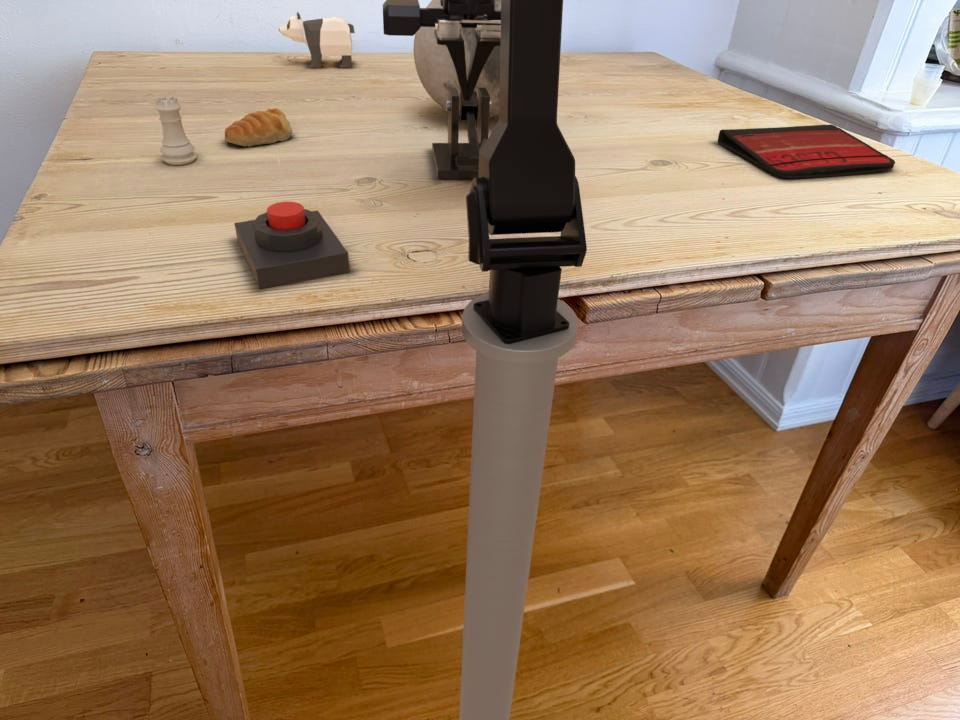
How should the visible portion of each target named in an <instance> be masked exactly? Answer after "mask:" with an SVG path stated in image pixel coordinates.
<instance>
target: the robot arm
mask: <svg viewBox="0 0 960 720" xmlns="http://www.w3.org/2000/svg"><path fill="white" fill-rule="evenodd" d="M440 5H441V6H443V8H426V7H421V5H420V2H419V0H385V1H384V2H383V4H382V21H383V22H382V24H383V26H382V28H383V29H382V30H383V35H386V36H398V37H399V36H400V37H401V36H403V37H404V36H405V37H414V36H415V33H416V32H417V31H418V30H419V29H420V27H434V29H435V30H434V36H435V39H436V42H437V44H439V45H446V46H447V48H448V51H449V53H450V56H451V58H452V61H453V64H454V67H455V71H456V75H457V79H458V82H459V86H460V90H461V94H462V98H463V100H464V101H466V100H467V101H470V100H471V97H472V95H473V92H474V89H475V87H476V84H477V82H478V79H479V77H480V74H481V72H482V69H483V67H484V65H485V63H486V62H487V60H488V58H489V56H490V54H491V52H492V51H493V49H494V47H495V46H500V97H499V115H498V121H497V122H496V124H495V126H494V128H493V129H492V131H491V133H490V134H489V135H488V138H485V139H484V140H483V142H482V144H481V147H480V149H479V171H478V177H476V178H473V179H472V182H471V187H470V189H469V192H468V193H467V194H466V196H465V206H466V208H465V209H466V221H467V235H468V237H467V238H468V250H467V251H468V254H467V255H468V256H467V258H468V261H469V262H470V263H473V264H476V265H479V268H480V271H481V272H482V273H484V272H489V281H488V292H489V300H485V301H481V302H476V303H474V306H473V309H474V311H475V312H476V313H477V314H478V315H479V316H480V317H481V319H482V320H483V321H484V322H485V323H486V324H487V325H488V326H489V327H490V329H491V330H492V331H493V332H494V333H495V334H496V335H497V336H498V337H499V339H500V340H501V341H502V342H503V343H505V344H512V343H516V342H520V341H524V340H528V339H532V338H536V337H540V336H544V335H548V334H551V333H555V332H559V331H563V330H567V329H568V328H569V322H568V321H567V320H566V319H565V318H564V317H563V316H562V315H561V314H560V313H559V312H558V311H557V302H558V299H559V294H560V287H561V286H560V285H561V278H562V268H564V267H574V268H581V267H582V266H583V263H584V260H585V257H586V255H587V251H588V247H587V238H586V231H585V222H584V215H583V214H584V213H583V206H582V199H581V191H580V185H579V181H578V178H577V176H576V159H575V156H574V154H573V152H572V150H571V148H570V147H569V144H568V143H567V141H566V138H565V137H564V135H563V132H562V131H561V130H560V129H561V128H560V127H559V125H558V106H559V90H560V89H559V85H560V69H561V68H560V67H561V50H562V49H561V48H562V33H563V32H562V31H563V30H562V29H563V28H562V27H563V12H564V0H501V10H495V0H440ZM462 28H475V29H476V30H472V38H471V52H470V60H469V67H468V75H467V74H466V60H465V46H464V40H463V37H462V35H461V33H460V31H461V29H462ZM544 233H545V234H546V233H560V235H553V236H550V235H549V236H531V237H530V236H529V237H505V238H490V235H491V236H495V235H496V236H498V235H499V236H500V235H520V234H525V235H526V234H544Z"/></svg>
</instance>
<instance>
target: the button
mask: <svg viewBox="0 0 960 720" xmlns="http://www.w3.org/2000/svg"><path fill="white" fill-rule="evenodd" d="M304 209H305V207H304V205H303V204H301V203H299V202H296V201H279V202H275V203H273V204H270V205H269V206H268V207H267V208H266V212H267V215H268V221H269V227H270V228H273V229H275V230H292V229H298V228H300V227H302V226H304V225H306V221H305V213H304Z"/></svg>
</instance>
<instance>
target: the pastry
mask: <svg viewBox="0 0 960 720" xmlns="http://www.w3.org/2000/svg"><path fill="white" fill-rule="evenodd" d="M292 134H293V128H292V126H291V124H290V121H289V120H288V118H287V116H286V113H285V112H283V110H281V109H279V108H277V107H275V108H267V109H266V110H262V111H261V110H257V111H253V112H249V113H247V114H246V115H244V116H243V117H242V118H241V119H239V120H235V121H233V123H232V124H230V125H228V126H227V127H225V130H224V141H225V142H228V143H230V144H233V145H237V146H243V147H244V148H245V147H252V146H261V145H266V144H267V145H269V144H273V143H277V142H279V141H280V142H283V141H287V140H289V139H290V138H291V136H292Z"/></svg>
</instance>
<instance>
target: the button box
mask: <svg viewBox="0 0 960 720" xmlns="http://www.w3.org/2000/svg"><path fill="white" fill-rule="evenodd" d="M304 213H305V221H306V225H304V226H302V227H300V228H298V229H292V230H275V229H273V228H270V227H269V221H268V215H267V211H265V212H264V213H261V214H259V215H257V217H256V218H255V219H252V220H246V221H245V220H244V221H239V222H234V224H233V225H234V229H235V234H236V239H237V243H238V245H239V247H240V250H241V252H242V253H243V257H244V258H245V260H246V262H247V265H248V267H249V269H250V271H251V274H252V276H253V279H254V280H255V282H256V284H257V287H258V289H259V290H262V289H267V288H272V287H277V286H283V285H288V284H293V283H298V282H304V281H309V280H315V279H318V278H324V277H330V276H334V275H341V274H345V273H350V271H351V270H350V261H349V260H350V259H349V252H348V250H347V249H346V248H345V246H344V245H343V244H342V242H341V241H340V239H339V238H338V237H337V236H336V234H335V232H334V231H333V230H332V228H331V227H330V225H329V224H328V223H327V221H326V219H324V217H323V216H322V214H321V212H319V210H310V209H307V208H304Z"/></svg>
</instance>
